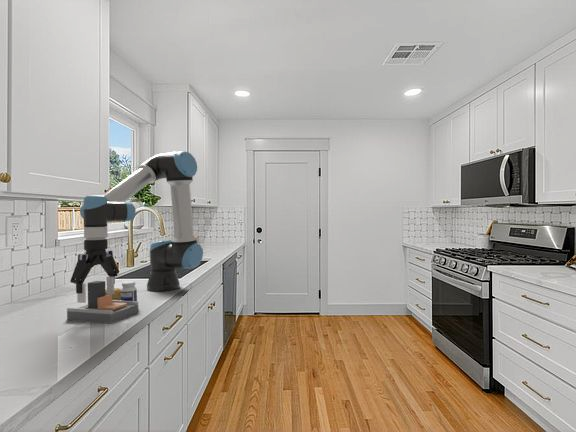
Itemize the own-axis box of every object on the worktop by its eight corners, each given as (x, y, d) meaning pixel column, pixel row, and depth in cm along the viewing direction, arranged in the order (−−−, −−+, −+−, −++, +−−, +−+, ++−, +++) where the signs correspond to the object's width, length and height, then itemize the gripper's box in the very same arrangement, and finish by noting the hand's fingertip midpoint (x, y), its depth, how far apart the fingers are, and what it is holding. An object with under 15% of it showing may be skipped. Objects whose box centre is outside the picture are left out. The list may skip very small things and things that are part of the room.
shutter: (111, 304, 137) (110, 294, 137) (127, 305, 135) (126, 294, 135) (96, 309, 130) (96, 298, 130) (113, 310, 128) (112, 299, 128)
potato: (124, 304, 150) (124, 288, 150) (93, 307, 145) (93, 291, 145) (123, 300, 156) (123, 286, 156) (93, 304, 151) (93, 288, 151)
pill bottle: (130, 305, 148) (129, 280, 148) (140, 306, 146) (140, 281, 146) (117, 308, 143) (117, 282, 143) (127, 310, 141) (127, 284, 141)
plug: (96, 313, 137) (96, 280, 136) (105, 314, 135) (105, 281, 135) (88, 316, 133) (87, 282, 133) (97, 317, 132) (97, 283, 132)
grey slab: (97, 309, 142) (97, 299, 142) (138, 312, 138) (138, 301, 138) (67, 319, 129) (67, 308, 129) (110, 323, 124) (110, 311, 124)
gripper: (112, 236, 147) (112, 290, 147) (57, 241, 123) (58, 305, 123) (128, 236, 145) (129, 291, 145) (76, 241, 121) (77, 307, 121)
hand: (96, 298), depth 134 cm, fingers open, 13 cm apart
